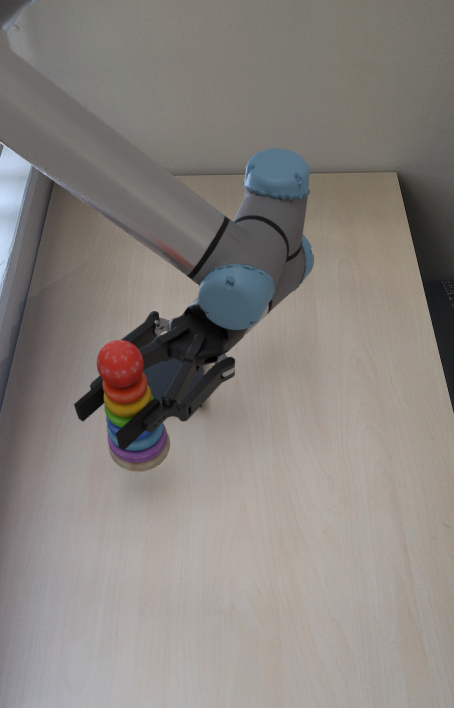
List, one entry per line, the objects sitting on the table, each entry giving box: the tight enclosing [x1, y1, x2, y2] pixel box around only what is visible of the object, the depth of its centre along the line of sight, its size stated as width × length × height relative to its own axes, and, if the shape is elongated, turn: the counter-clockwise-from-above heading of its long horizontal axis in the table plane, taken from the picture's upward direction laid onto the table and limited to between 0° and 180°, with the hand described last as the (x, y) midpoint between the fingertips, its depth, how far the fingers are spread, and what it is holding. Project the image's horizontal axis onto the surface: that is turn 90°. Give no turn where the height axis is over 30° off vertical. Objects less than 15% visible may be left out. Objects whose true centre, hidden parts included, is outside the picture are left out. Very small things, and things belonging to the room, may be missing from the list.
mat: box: [143, 336, 204, 408], centre depth 100 cm, size 12×14×1 cm
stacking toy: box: [96, 339, 171, 473], centre depth 75 cm, size 8×8×19 cm
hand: (99, 427), depth 73 cm, fingers closed on stacking toy, 6 cm apart
